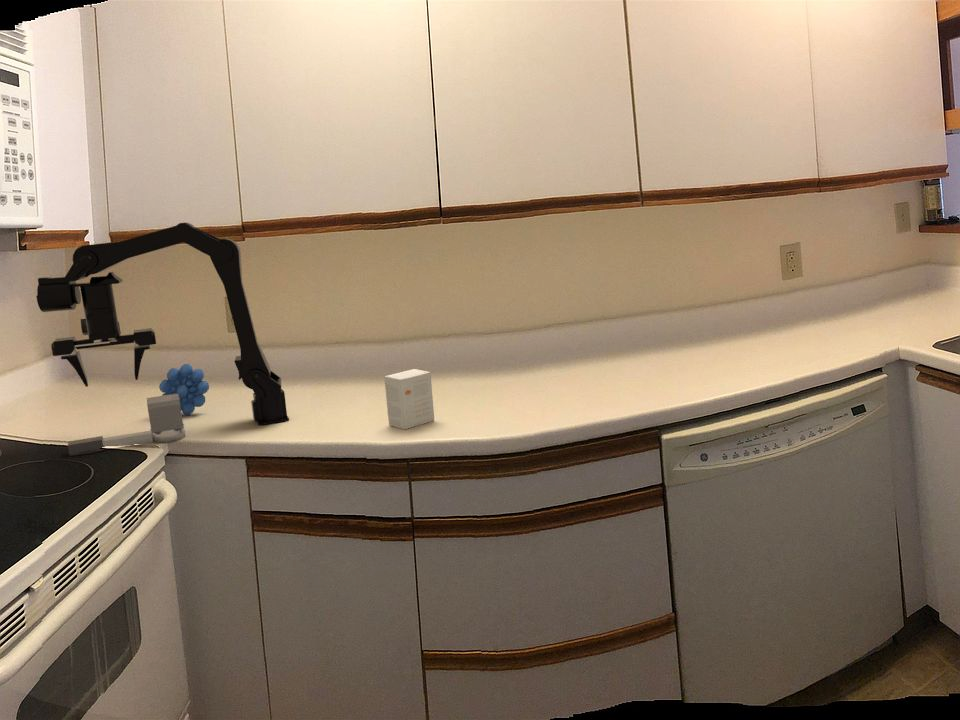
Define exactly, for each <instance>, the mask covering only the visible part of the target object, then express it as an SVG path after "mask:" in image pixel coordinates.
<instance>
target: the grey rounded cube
mask: <svg viewBox="0 0 960 720" xmlns="http://www.w3.org/2000/svg"><path fill="white" fill-rule="evenodd" d="M146 405H147V406H146V407H147V412H148V418H149V425H150V429H151V432H152V433H156V432H162V431H168V430H174V429H180V428H184V429H185V426H184V427H183V424H184V422H183V415H182V414H183V413H182V410H181V407H180V400H179V395H178V394H171V395H164V396H162V395H160V396H151V397H146Z"/></svg>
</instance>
